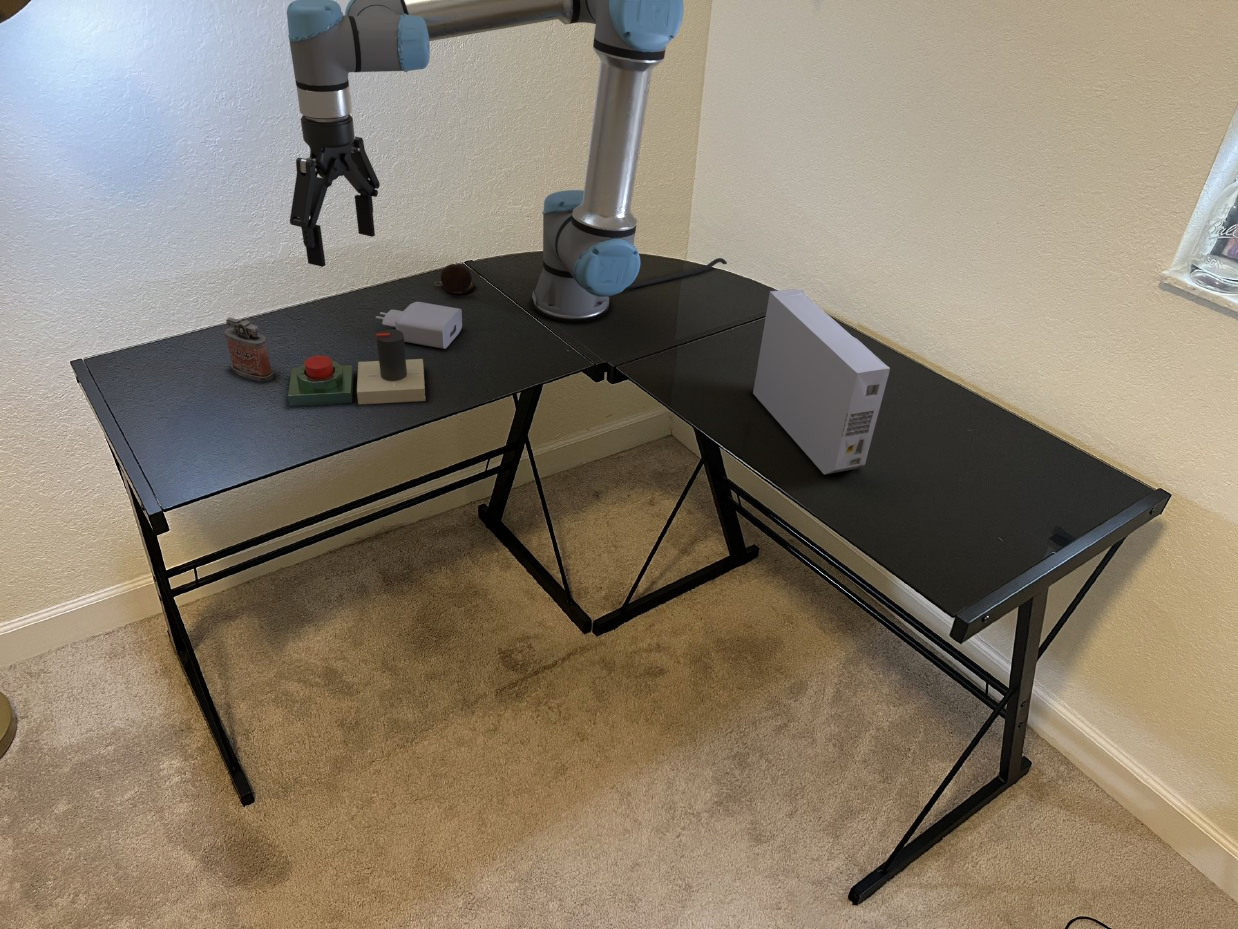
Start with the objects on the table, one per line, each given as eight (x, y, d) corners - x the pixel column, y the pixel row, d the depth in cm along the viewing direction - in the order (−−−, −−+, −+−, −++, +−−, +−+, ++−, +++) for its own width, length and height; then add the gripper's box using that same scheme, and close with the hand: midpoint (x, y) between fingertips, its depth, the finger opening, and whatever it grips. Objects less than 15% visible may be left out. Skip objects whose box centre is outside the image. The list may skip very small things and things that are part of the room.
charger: (389, 316, 183) (462, 329, 181) (368, 337, 176) (443, 351, 173) (387, 293, 180) (461, 306, 178) (365, 314, 173) (442, 328, 170)
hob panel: (423, 370, 167) (422, 357, 166) (425, 401, 159) (424, 387, 158) (359, 374, 165) (358, 360, 164) (358, 404, 157) (356, 391, 156)
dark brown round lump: (474, 282, 197) (473, 249, 193) (471, 299, 191) (470, 265, 187) (436, 280, 197) (434, 247, 192) (431, 297, 190) (429, 264, 186)
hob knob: (406, 367, 163) (403, 326, 158) (407, 380, 160) (403, 339, 155) (380, 368, 162) (376, 328, 158) (380, 381, 159) (376, 340, 154)
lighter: (277, 375, 163) (268, 323, 158) (264, 383, 161) (254, 331, 155) (241, 363, 166) (231, 311, 160) (227, 371, 163) (216, 319, 158)
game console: (781, 389, 169) (800, 287, 157) (863, 477, 149) (891, 368, 137) (752, 393, 167) (769, 291, 156) (831, 483, 147) (857, 373, 135)
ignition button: (334, 365, 160) (332, 354, 159) (332, 378, 157) (331, 368, 156) (307, 366, 159) (305, 356, 158) (305, 380, 156) (303, 369, 155)
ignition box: (353, 375, 165) (351, 355, 162) (352, 403, 158) (349, 382, 155) (293, 378, 163) (290, 358, 160) (289, 406, 156) (285, 386, 153)
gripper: (353, 91, 151) (367, 219, 164) (249, 132, 132) (273, 273, 145) (394, 99, 149) (404, 227, 162) (294, 141, 130) (314, 283, 143)
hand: (342, 249), depth 153 cm, fingers open, 13 cm apart
